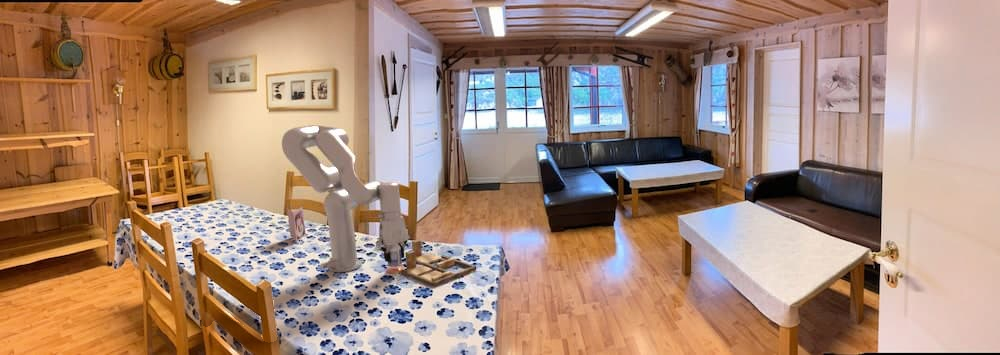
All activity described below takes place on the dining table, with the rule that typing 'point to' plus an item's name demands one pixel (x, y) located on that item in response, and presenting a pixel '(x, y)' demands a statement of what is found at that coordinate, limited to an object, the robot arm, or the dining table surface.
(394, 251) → the pill bottle
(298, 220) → the greeting card
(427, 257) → the slat bottle lane
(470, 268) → the lane rails
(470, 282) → the dining table surface
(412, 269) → the tan wooden block
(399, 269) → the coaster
